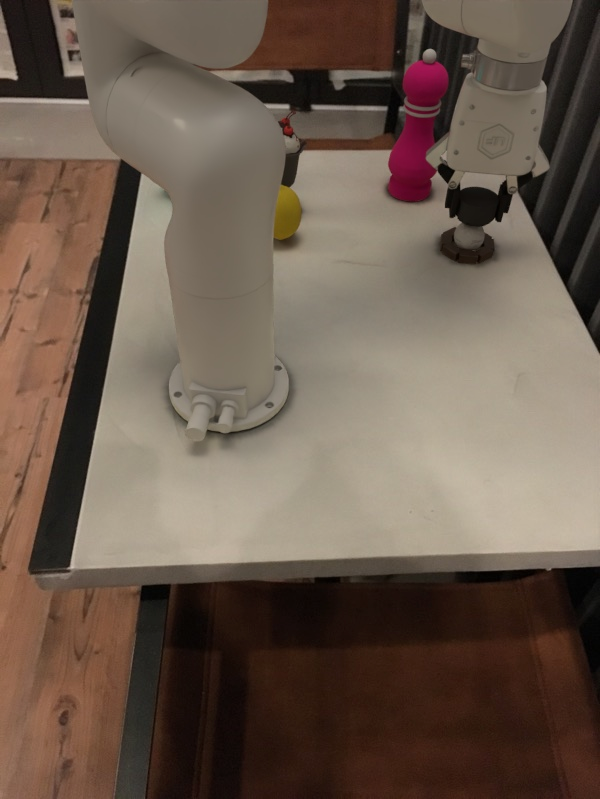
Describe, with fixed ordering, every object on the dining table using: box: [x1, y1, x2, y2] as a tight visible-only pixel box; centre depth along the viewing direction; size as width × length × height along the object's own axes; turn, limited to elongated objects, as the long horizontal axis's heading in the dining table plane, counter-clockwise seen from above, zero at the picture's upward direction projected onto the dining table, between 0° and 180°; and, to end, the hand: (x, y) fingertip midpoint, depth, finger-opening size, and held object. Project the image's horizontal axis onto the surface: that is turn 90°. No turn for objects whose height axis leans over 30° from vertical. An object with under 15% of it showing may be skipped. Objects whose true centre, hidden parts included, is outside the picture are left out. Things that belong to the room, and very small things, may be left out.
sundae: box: [277, 109, 308, 189], centre depth 92 cm, size 7×7×15 cm
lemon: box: [273, 185, 302, 241], centre depth 90 cm, size 6×6×8 cm
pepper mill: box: [387, 48, 449, 203], centre depth 95 cm, size 7×7×20 cm
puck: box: [455, 186, 499, 228], centre depth 88 cm, size 5×5×3 cm
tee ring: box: [439, 226, 496, 265], centre depth 92 cm, size 7×7×1 cm
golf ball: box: [454, 222, 486, 251], centre depth 91 cm, size 4×4×4 cm
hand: (474, 213), depth 88 cm, fingers closed on puck, 5 cm apart
